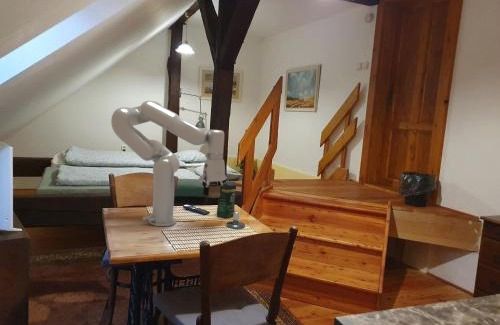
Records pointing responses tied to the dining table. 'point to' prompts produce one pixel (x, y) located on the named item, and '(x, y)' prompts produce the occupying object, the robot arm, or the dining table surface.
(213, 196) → the collar
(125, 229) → the dining table surface
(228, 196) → the coffee jar
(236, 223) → the post
